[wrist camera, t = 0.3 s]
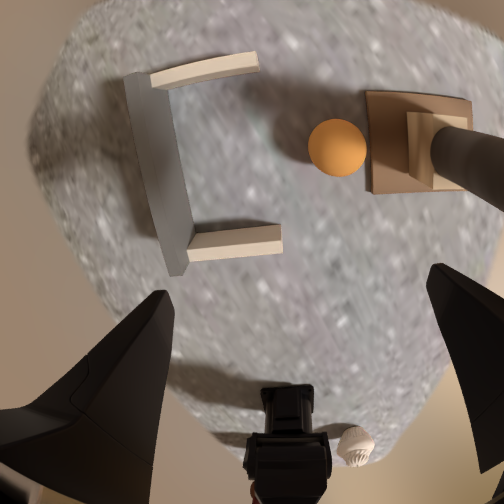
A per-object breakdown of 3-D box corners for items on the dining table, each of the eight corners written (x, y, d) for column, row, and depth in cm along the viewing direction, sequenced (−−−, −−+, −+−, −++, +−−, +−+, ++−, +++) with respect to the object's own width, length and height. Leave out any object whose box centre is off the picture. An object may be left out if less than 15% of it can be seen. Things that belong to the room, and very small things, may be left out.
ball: (358, 168, 20) (375, 181, 17) (307, 172, 21) (315, 185, 17) (355, 117, 19) (372, 119, 15) (302, 119, 19) (308, 121, 16)
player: (442, 175, 19) (555, 246, 8) (405, 175, 19) (516, 254, 8) (441, 114, 17) (570, 143, 5) (403, 111, 17) (531, 132, 6)
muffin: (378, 424, 37) (385, 460, 31) (352, 440, 40) (357, 474, 34) (353, 419, 36) (359, 458, 30) (326, 435, 39) (329, 471, 33)
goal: (282, 235, 24) (283, 267, 19) (187, 245, 25) (169, 276, 20) (258, 59, 17) (253, 44, 13) (153, 81, 18) (123, 76, 14)
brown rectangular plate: (468, 189, 20) (471, 190, 19) (371, 192, 21) (373, 194, 21) (468, 101, 16) (471, 101, 16) (365, 91, 18) (367, 91, 17)
